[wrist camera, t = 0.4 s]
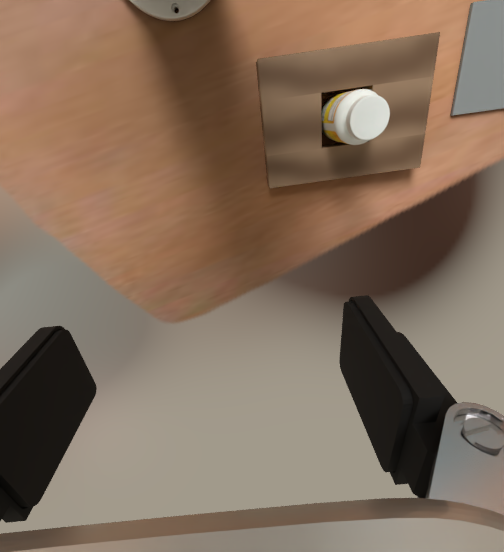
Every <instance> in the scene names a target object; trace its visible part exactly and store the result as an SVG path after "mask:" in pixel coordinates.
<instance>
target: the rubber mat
mask: <svg viewBox="0 0 504 552" xmlns="http://www.w3.org/2000/svg"><path fill="white" fill-rule="evenodd" d="M501 108H504V0H486V1H479V2H473V3H471V5H470V11H469V16H468V22H467V27H466V33H465V38H464V44H463V49H462V55H461V60H460V66H459V71H458V77H457V82H456V88H455V93H454V99H453V104H452V110H451V115H459V114H466V113H473V112H480V111H487V110H494V109H501Z"/></svg>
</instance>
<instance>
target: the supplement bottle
mask: <svg viewBox="0 0 504 552" xmlns="http://www.w3.org/2000/svg"><path fill="white" fill-rule="evenodd" d="M389 117H390V109H389V106H388V103H387V102H386V100H385V99H384V98H382V97H381V96H378V95H377V94H376V93H375V92H373V91H371V90H368V89H358V90H354V91H349V92H345V93H340V94H337V95H335V96H333V97H332V98H330V99H329V100H328V101H327V102H326V104H325V105H324V107H323V109H322V111H321V121H322V132H323V133H324V135H325V136H326V137H328V138H329V139H331V140H334V141H338V142H342V143H346V144H350V145H360V144H363V143H366V142H367V141H369V140H371V139H374V138H376V137H377V136H379V135H380V134H381V133H382V132H383V131H384V129H385V128H386V126H387V124H388V121H389Z"/></svg>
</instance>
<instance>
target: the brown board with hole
mask: <svg viewBox="0 0 504 552" xmlns="http://www.w3.org/2000/svg"><path fill="white" fill-rule="evenodd" d="M439 36H440V32H437V33H431V34H424V35H417V36H410V37H404V38H397V39H390V40H383V41H377V42H370V43H363V44H356V45H350V46H343V47H336V48H329V49H323V50H316V51H309V52H302V53H296V54H289V55H282V56H275V57H269V58H262V59H257V62H256V66H257V76H258V87H259V97H260V107H261V118H262V128H263V138H264V149H265V159H266V170H267V180H268V186H269V188H276V187H283V186H290V185H297V184H305V183H312V182H319V181H326V180H333V179H341V178H348V177H355V176H362V175H369V174H377V173H384V172H391V171H398V170H405V169H413V168H420V164H421V158H422V151H423V144H424V137H425V131H426V124H427V117H428V110H429V104H430V97H431V90H432V83H433V77H434V70H435V63H436V56H437V49H438V43H439ZM363 87H364V89H368V90H371V91H373V92H375V93H376V94H377V95H378V96H381V97H382V98H384V99H385V100H386V102H387V103H388V106H389V109H390V117H389V121H388V124H387V126H386V128H385V129H384V131H383V132H382V133H381V134H380V135H379V136H377V137H376V138H374V139H371V140H369V141H367V142H366V143H363V144H360V145H350V144H346V143H341V144H334V145H327V146H322V121H321V94H322V93H329V92H336V91H343V90H350V89H357V88H363Z"/></svg>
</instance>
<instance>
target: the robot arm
mask: <svg viewBox="0 0 504 552" xmlns="http://www.w3.org/2000/svg"><path fill="white" fill-rule="evenodd" d="M129 1H131V2H132V3H133V4H134V5H135V6H136V7H137V8H138V9H140V10H141V11H143V12H144V13H146V14H147V15H149V16H152V17H155V18H157V19H160V20H166V21H179V20H184V19H187V18H189V17H192V16H194V15H195V14H197V13H198V12H200V11H201V10H202V9H203V8H204V7H205V6H206V5H207V4H208V3H209V2H210V0H129ZM176 8H178V9H179V12H178V13H175V9H176ZM341 337H342V338H341V349H340V368H341V371H342V374H343V376H344V378H345V381H346V383H347V386H348V388H349V390H350V393H351V395H352V397H353V400H354V402H355V405H356V407H357V410H358V412H359V414H360V417H361V419H362V422H363V424H364V426H365V429H366V431H367V433H368V436H369V438H370V440H371V443H372V446H373V448H374V450H375V453H376V455H377V458H378V460H379V462H380V465H381V467H382V468H383V470H384V471H385V472H390V474H391V476H392V478H393V480H394V483H395V485H397V484H407V483H408V484H409V486H410V488H411V490H412V492H413V494H415V495H417V496H418V497H417V498H391V499H390V498H388V499H369V500H355V501H341V502H327V503H314V504H303V505H292V506H281V507H270V508H259V509H248V510H237V511H227V512H215V513H205V514H194V515H184V516H173V517H163V518H152V519H143V520H133V521H122V522H112V523H101V524H92V525H81V526H72V527H61V528H52V529H43V530H33V531H22V532H13V533H3V534H0V552H504V416H503V415H502V414H500V413H498V412H497V411H495V410H492V409H490V408H488V407H486V406H483V405H479V404H476V403H468V402H462V403H457V402H456V401H455V399H454V398H453V397H452V396H451V394H450V393H449V392H448V391H447V389H446V388H445V387H444V385H443V384H442V383H441V382H440V380H439V379H438V378H437V377H436V375H435V374H434V373H433V372H432V370H431V369H430V368H429V366H428V365H427V364H426V362H425V361H424V360H423V359H422V357H421V356H420V355H419V354H418V352H417V351H416V350H415V348H414V347H413V346H412V345H411V344H410V342H409V341H408V340H407V338H406V337H405V336H404V335H403V334H402V333H400V332H396V331H395V330H394V328H393V327H392V325H391V324H390V323H389V322H388V320H387V319H386V318H385V316H384V315H383V314H382V312H381V311H380V310H379V308H378V307H377V306H376V304H375V303H374V302H373V300H372V299H371V298H370V297H369V296H358V297H357V296H356V297H351V298H350V299H349V302H345V303H344V309H343V323H342V336H341ZM95 394H96V384H95V382H94V380H93V378H92V376H91V374H90V372H89V370H88V368H87V366H86V364H85V362H84V360H83V358H82V356H81V354H80V352H79V350H78V348H77V346H76V344H75V342H74V340H73V338H72V336H71V334H70V332H69V331H68V330H65V329H64V328H63V327H62V326H53V327H44V328H40V329H39V330H38V331H37V332H36V333H35V334H34V335H33V336H32V337H31V338H30V339H29V340H28V341H27V342H26V343H25V344H24V345H23V346H22V347H21V348H20V349H19V350H18V351H17V352H16V353H15V354H14V356H13V357H12V358H11V359H10V360H9V361H8V362H7V363H6V364H5V365H4V366H3V367H2V368H1V369H0V521H1V519H3V520H4V521H5V522H16V521H25V520H26V519H27V517H28V515H29V514H30V512H31V510H32V508H33V506H35V505H37V504H38V502H39V501H40V500H41V498H42V496H43V494H44V492H45V491H46V488H47V486H48V485H49V483H50V481H51V479H52V477H53V475H54V473H55V471H56V469H57V468H58V465H59V463H60V462H61V460H62V458H63V456H64V454H65V452H66V450H67V448H68V446H69V444H70V443H71V441H72V439H73V437H74V435H75V433H76V431H77V429H78V427H79V425H80V423H81V421H82V419H83V418H84V416H85V414H86V412H87V410H88V408H89V406H90V404H91V402H92V400H93V399H94V397H95Z"/></svg>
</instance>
